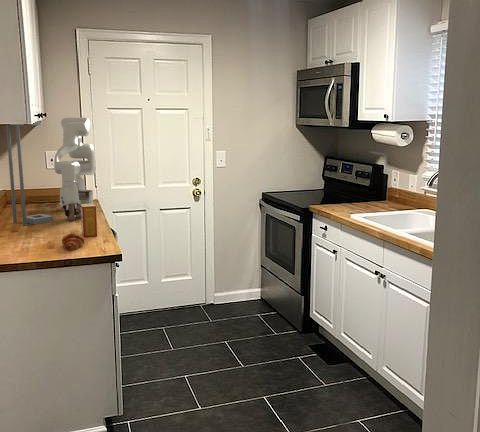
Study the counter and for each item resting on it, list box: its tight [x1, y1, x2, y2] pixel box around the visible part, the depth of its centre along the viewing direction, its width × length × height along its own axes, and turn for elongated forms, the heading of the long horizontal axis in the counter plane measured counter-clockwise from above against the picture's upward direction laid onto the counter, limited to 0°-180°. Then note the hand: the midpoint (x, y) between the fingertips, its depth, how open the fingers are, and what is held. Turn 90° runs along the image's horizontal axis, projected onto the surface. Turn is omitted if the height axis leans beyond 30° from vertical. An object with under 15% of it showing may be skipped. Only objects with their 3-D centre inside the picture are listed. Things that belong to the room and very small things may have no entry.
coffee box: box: [75, 189, 94, 219], centre depth 317 cm, size 9×6×16 cm
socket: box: [26, 213, 54, 225], centre depth 303 cm, size 12×12×3 cm
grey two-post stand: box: [5, 120, 41, 227], centre depth 295 cm, size 14×12×57 cm
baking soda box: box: [80, 202, 98, 239], centre depth 268 cm, size 10×6×16 cm
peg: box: [66, 204, 76, 223], centre depth 305 cm, size 4×4×10 cm
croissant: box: [61, 233, 85, 251], centre depth 246 cm, size 21×10×8 cm, turn 10°
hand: (70, 215), depth 305 cm, fingers closed on peg, 4 cm apart
